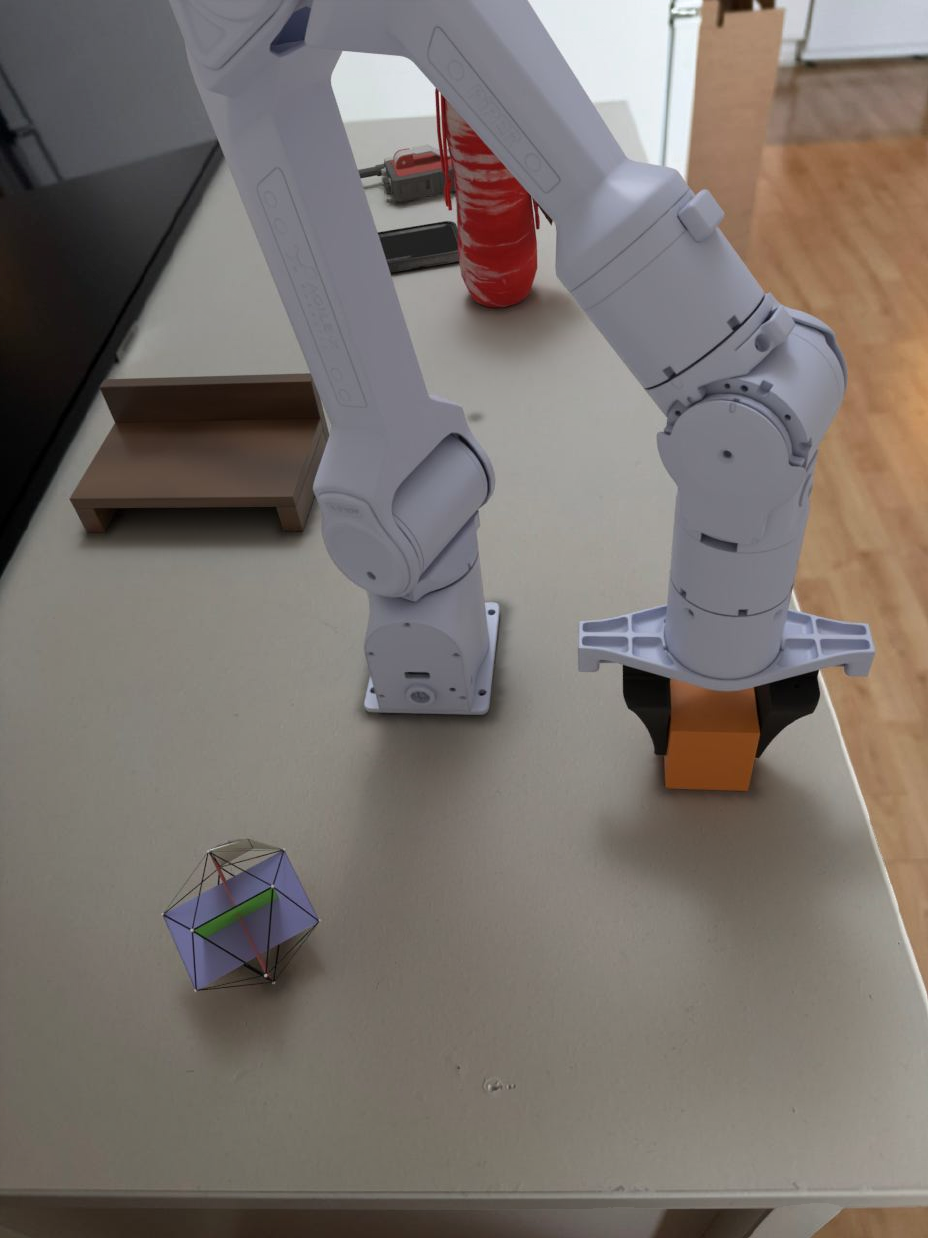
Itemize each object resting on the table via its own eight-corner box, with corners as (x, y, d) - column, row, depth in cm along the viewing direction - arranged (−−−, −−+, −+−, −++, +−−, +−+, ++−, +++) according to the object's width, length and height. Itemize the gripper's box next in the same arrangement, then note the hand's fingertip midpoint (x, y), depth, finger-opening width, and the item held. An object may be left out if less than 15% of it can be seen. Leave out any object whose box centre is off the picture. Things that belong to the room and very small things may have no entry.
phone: (321, 241, 106) (454, 219, 106) (323, 251, 106) (455, 229, 107) (324, 273, 100) (464, 250, 101) (327, 283, 101) (465, 260, 101)
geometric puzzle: (349, 977, 47) (282, 837, 45) (219, 1054, 45) (143, 910, 43) (320, 924, 53) (261, 800, 52) (206, 989, 51) (140, 862, 50)
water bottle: (571, 267, 98) (566, -14, 80) (579, 306, 93) (575, 13, 75) (455, 279, 99) (424, 2, 81) (456, 318, 93) (423, 30, 75)
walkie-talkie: (479, 158, 120) (324, 188, 118) (476, 120, 117) (316, 151, 115) (497, 184, 114) (333, 217, 112) (494, 146, 111) (326, 179, 109)
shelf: (303, 531, 74) (281, 458, 68) (86, 532, 76) (50, 462, 71) (331, 444, 81) (314, 372, 76) (133, 447, 84) (104, 378, 79)
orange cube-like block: (748, 791, 54) (760, 733, 50) (665, 788, 55) (671, 731, 51) (740, 726, 57) (751, 666, 53) (662, 724, 58) (667, 665, 54)
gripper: (876, 516, 47) (827, 690, 56) (579, 518, 49) (581, 686, 59) (906, 621, 42) (847, 792, 52) (575, 619, 44) (578, 783, 54)
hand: (706, 742), depth 55 cm, fingers closed on orange cube-like block, 4 cm apart
